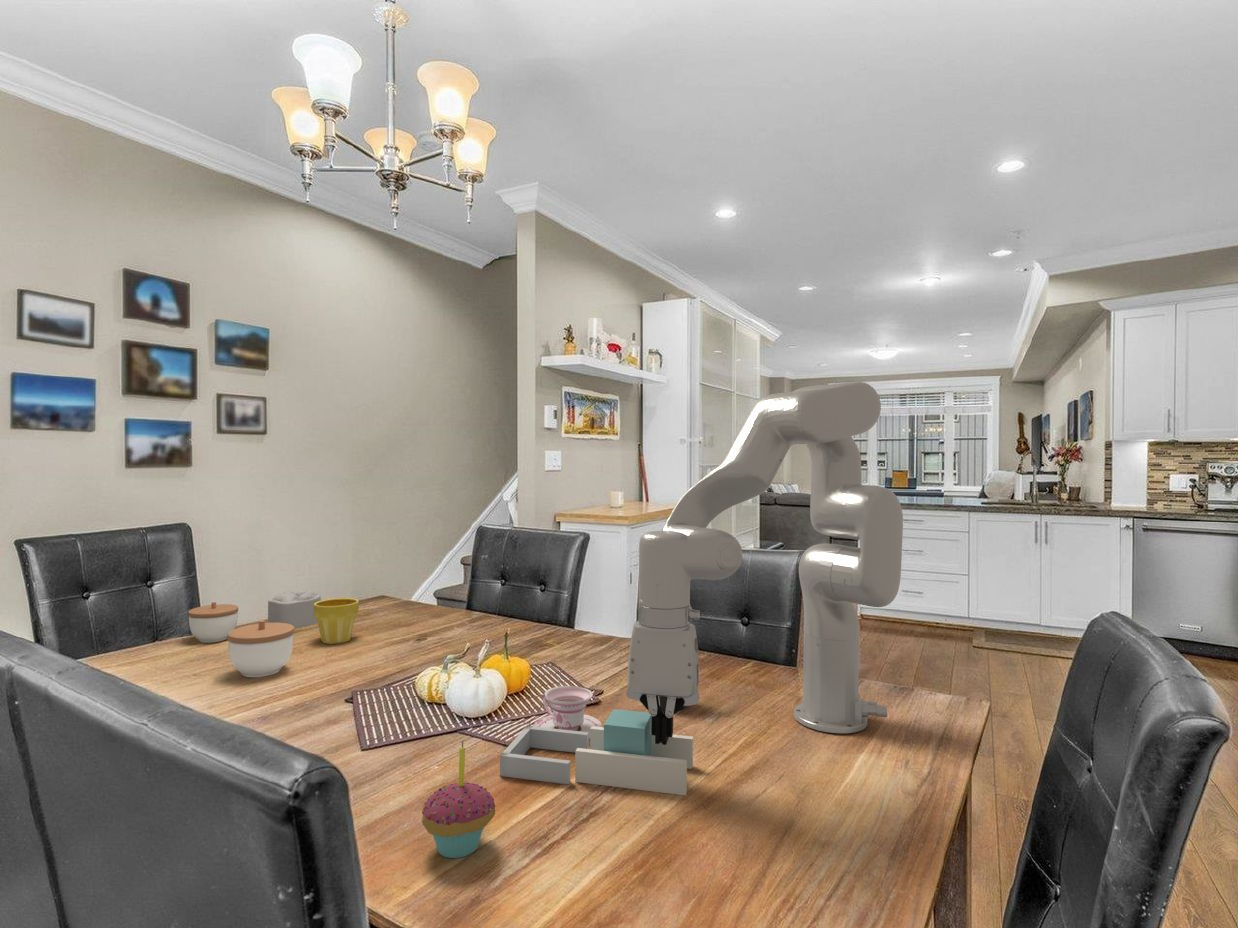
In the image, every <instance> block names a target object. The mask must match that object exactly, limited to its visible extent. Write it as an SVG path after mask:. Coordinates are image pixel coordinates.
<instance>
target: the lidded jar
mask: <svg viewBox="0 0 1238 928" xmlns="http://www.w3.org/2000/svg"><path fill="white" fill-rule="evenodd" d="M187 615H188V626H189V629H190V633H191V634H192V636H193V637H194V638H196V639H197V640H198V641H199V642H200V643H201V644H208V643H209V644H210V643H211V644H213V643H219V642H223V641H226V640H228V633H229V632H230V631H232V630H234V629H236V627H237V624H238V617H239V616H238V615H239V606H238V605H236V604H229V603H223V604H217V602H216V601H213V602H211V604H208V605H203V606H198V607H194V608H192V609H190V610H188V613H187Z"/></svg>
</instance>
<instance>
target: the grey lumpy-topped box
mask: <svg viewBox="0 0 1238 928" xmlns="http://www.w3.org/2000/svg"><path fill="white" fill-rule="evenodd" d="M321 599H322V597H321V594H320V593H319V592H318V593H315V591H311V590H310V591H309V590H306V589H302V590H300V591H298V592H294V591H291V590H287V591H284V592H283V593H281V594H277V595H275V596H274V597H271V598H269V599H268V601H267V603H268V604H267V623H287V624H291V625H293V626H294V630H296V629H301V628H306V627H310V626H314V625H316V624H318V622H317V619H316V618H315V617H314V603H316V602H318V601H322V600H321Z"/></svg>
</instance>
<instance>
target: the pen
mask: <svg viewBox="0 0 1238 928" xmlns="http://www.w3.org/2000/svg"><path fill="white" fill-rule="evenodd" d="M580 731H581V730H576V731H571V730H561V729H559V728H554V729H552V728H543V727H533V725H532V726H531V725H526V726H525V727H524V728H523V729H522V731H520V732H519V734H518V735H517V736H516V737H515V738H514V739H513V741H512V742H511V743H510V744H509V745H508V746H507V747H506V748H505V749H504V751H503V752H501V754H499V777H506V778H514V779H522V780H529V781H530V780H531V781H538V782H545V783H554V784H562V785H569V784H570V782H571V760H569V759H561V758H560V759H559V758H554V757H553V758H551V757H542V756H537V755H536V756H534V755H526V753H528V751H529V749H531V748H534V749H542V750H549V751H550V750H551V751H558V752H569V753H575V752H576V749H577V748H583V749H590V739H589V732H580Z"/></svg>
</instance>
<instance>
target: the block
mask: <svg viewBox="0 0 1238 928" xmlns="http://www.w3.org/2000/svg"><path fill="white" fill-rule="evenodd" d="M651 725H652V716H651V715H650V714H649V711H648V712H647V711H635V710H626V709H617V708H616V709H615V708H613V709H612V710H611V712H610V714H609V716H608V718H607V719H606V720H605V722H604V723H603V727H604V751H610V752H619V753H628V754H637V755H646V756H651V741H652V734H651Z"/></svg>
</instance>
